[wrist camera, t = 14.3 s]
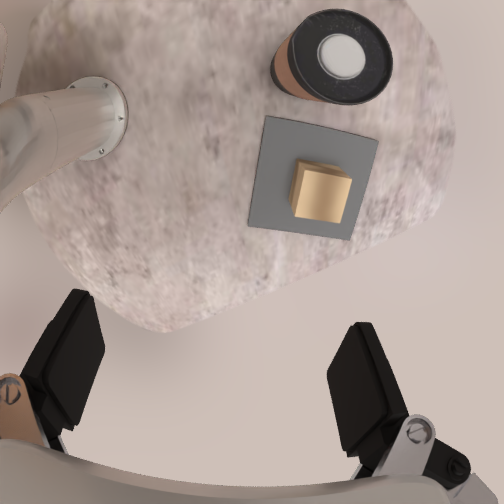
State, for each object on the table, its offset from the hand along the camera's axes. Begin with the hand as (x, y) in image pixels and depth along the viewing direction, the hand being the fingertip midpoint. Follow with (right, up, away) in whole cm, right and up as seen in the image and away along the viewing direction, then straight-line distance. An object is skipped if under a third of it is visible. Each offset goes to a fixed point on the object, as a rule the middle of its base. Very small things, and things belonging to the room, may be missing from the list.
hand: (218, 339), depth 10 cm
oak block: (+10, +13, +30) cm, 34 cm away
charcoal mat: (+10, +13, +31) cm, 35 cm away
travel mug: (+7, +27, +23) cm, 36 cm away
